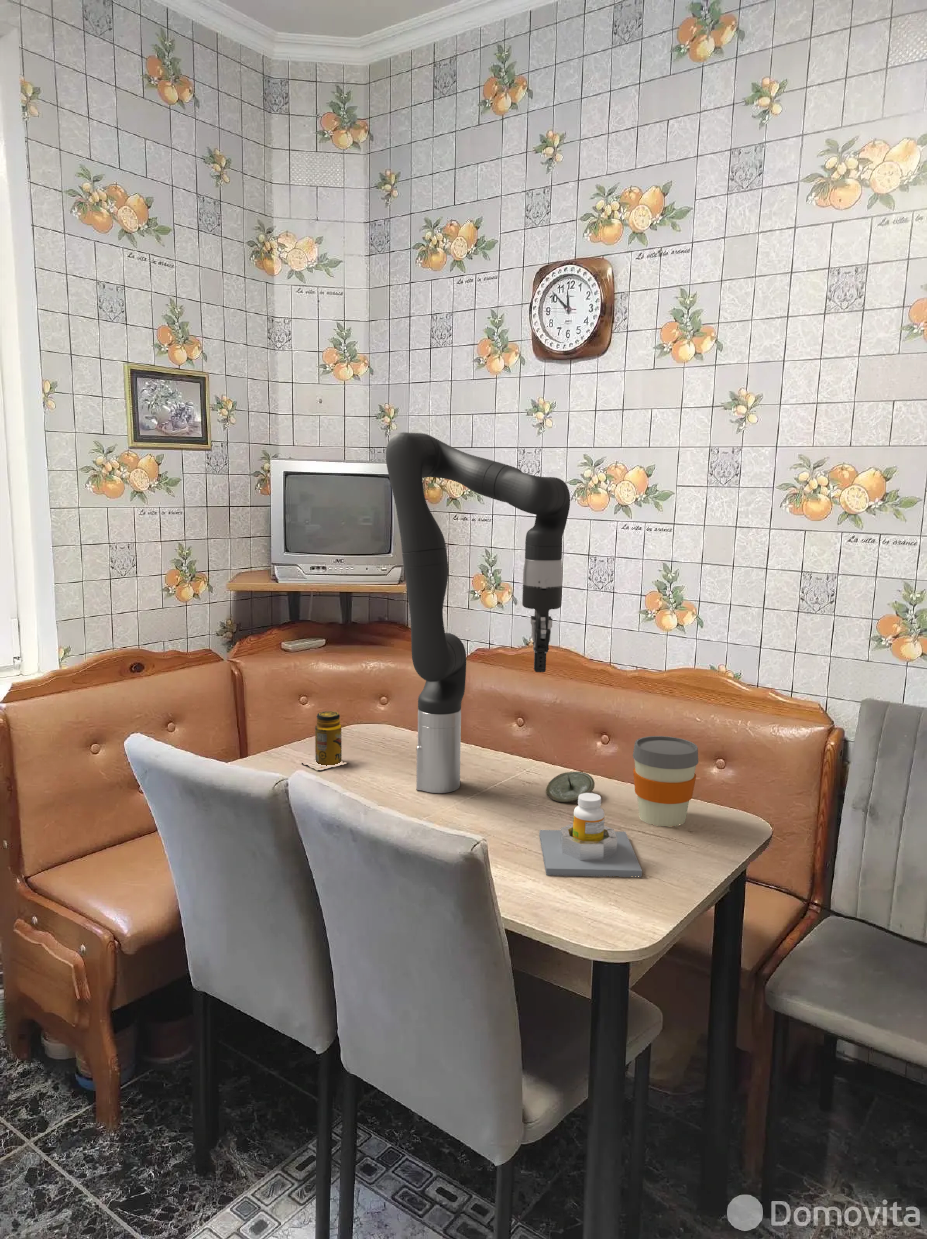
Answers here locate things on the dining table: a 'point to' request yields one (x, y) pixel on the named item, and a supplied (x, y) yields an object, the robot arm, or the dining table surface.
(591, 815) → the supplement bottle
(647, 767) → the reusable coffee cup
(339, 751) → the condiment
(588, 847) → the steel collar
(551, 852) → the hub plate
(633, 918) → the dining table surface
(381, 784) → the dining table surface
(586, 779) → the lid
